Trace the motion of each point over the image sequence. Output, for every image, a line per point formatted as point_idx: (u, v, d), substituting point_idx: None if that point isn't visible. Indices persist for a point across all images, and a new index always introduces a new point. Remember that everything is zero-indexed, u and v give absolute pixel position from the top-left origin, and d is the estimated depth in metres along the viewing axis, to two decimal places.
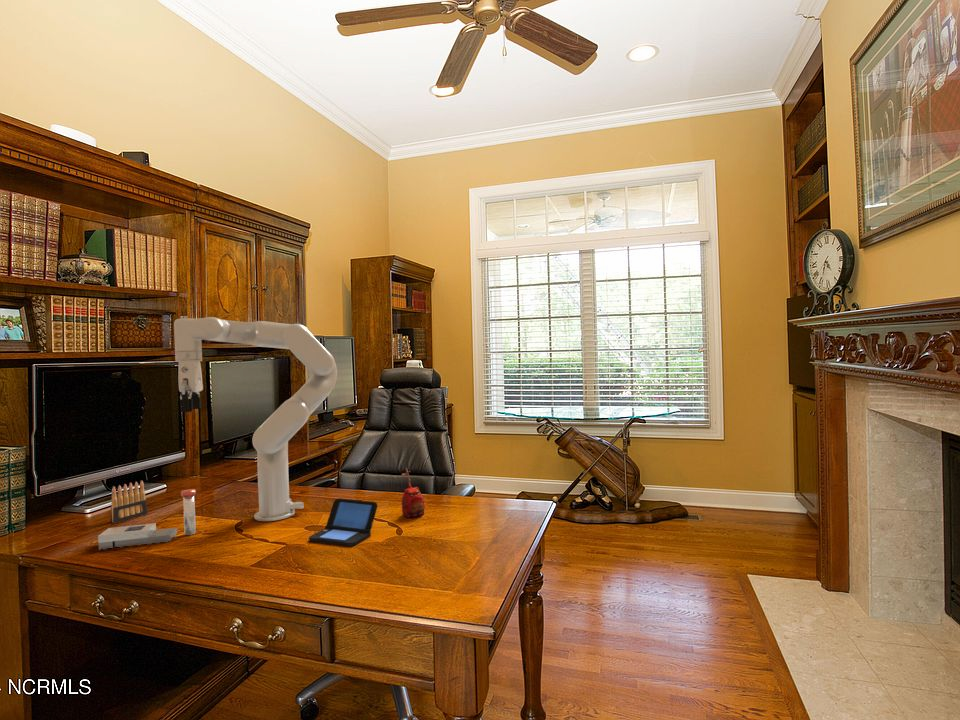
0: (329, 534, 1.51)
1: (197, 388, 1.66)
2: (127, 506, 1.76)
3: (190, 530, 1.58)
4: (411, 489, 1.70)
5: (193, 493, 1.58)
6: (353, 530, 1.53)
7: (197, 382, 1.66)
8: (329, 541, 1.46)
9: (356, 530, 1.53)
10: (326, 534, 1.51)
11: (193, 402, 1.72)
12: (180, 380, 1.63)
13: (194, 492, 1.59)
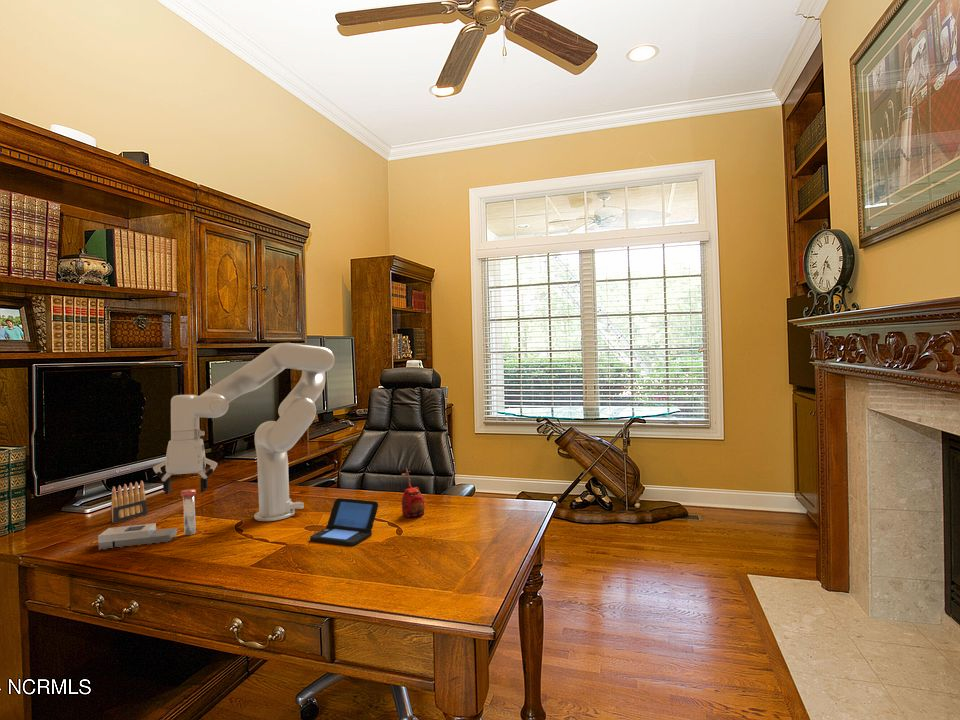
0: (330, 534, 1.51)
1: None
2: (127, 506, 1.76)
3: (190, 530, 1.58)
4: (411, 489, 1.70)
5: (193, 493, 1.58)
6: (354, 529, 1.53)
7: None
8: (330, 540, 1.47)
9: (357, 530, 1.53)
10: (327, 533, 1.51)
11: (169, 486, 1.57)
12: (202, 459, 1.58)
13: (194, 492, 1.59)
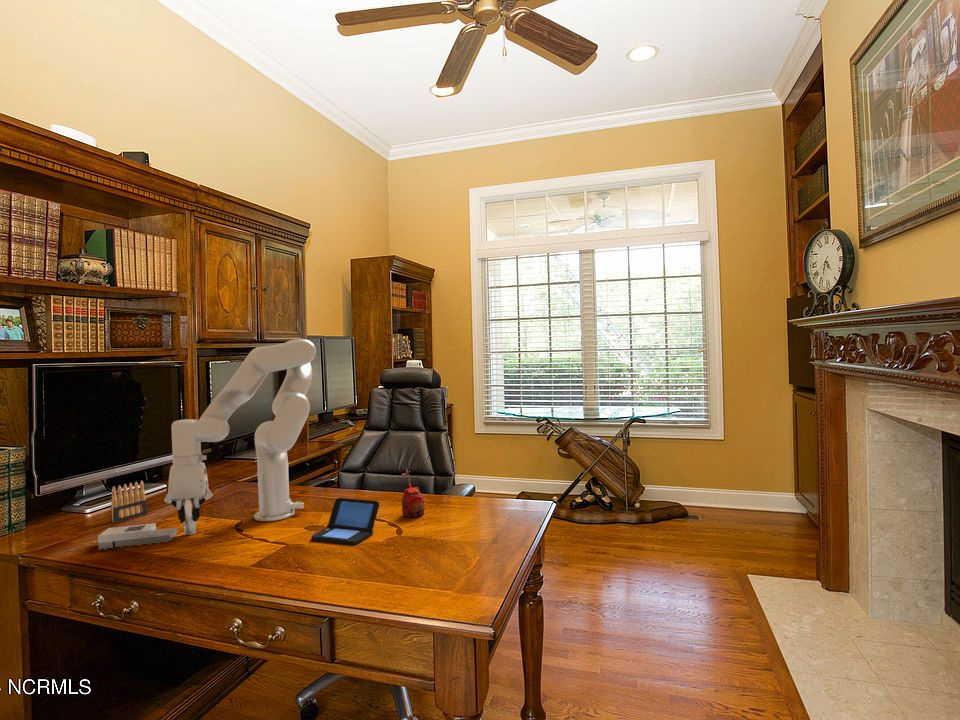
0: (331, 533, 1.51)
1: None
2: (127, 506, 1.76)
3: (190, 530, 1.58)
4: (411, 489, 1.70)
5: None
6: (355, 529, 1.54)
7: None
8: (332, 539, 1.47)
9: (358, 529, 1.54)
10: (328, 533, 1.52)
11: (183, 514, 1.58)
12: (205, 483, 1.59)
13: None
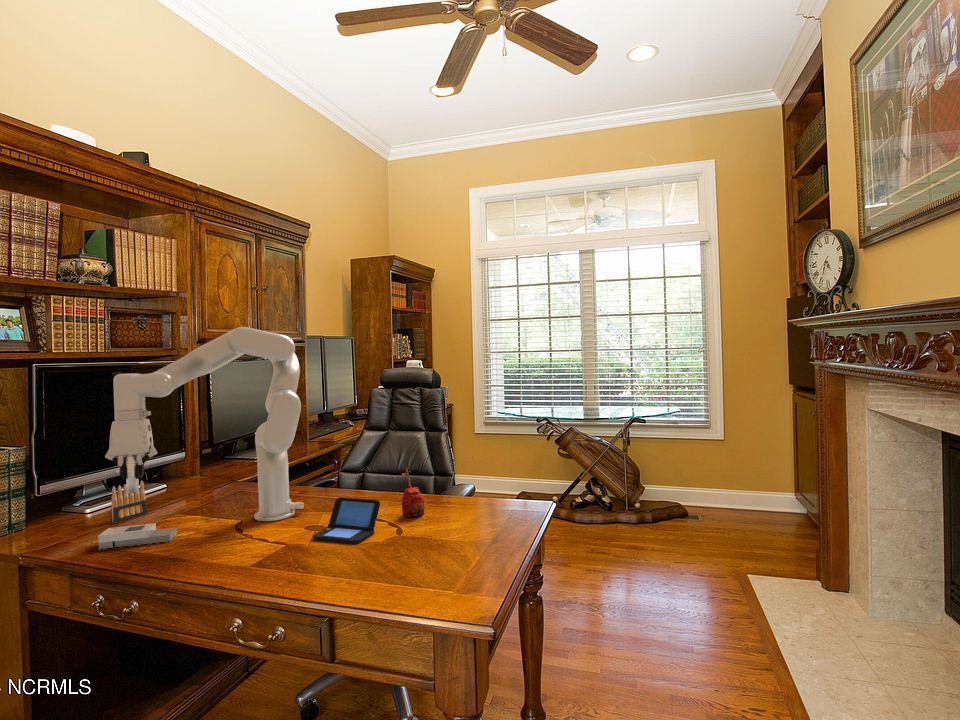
0: (333, 532, 1.52)
1: None
2: (127, 506, 1.76)
3: (132, 487, 1.52)
4: (411, 489, 1.70)
5: None
6: (356, 528, 1.54)
7: None
8: (334, 539, 1.48)
9: (359, 528, 1.54)
10: (330, 532, 1.52)
11: None
12: (148, 440, 1.53)
13: None
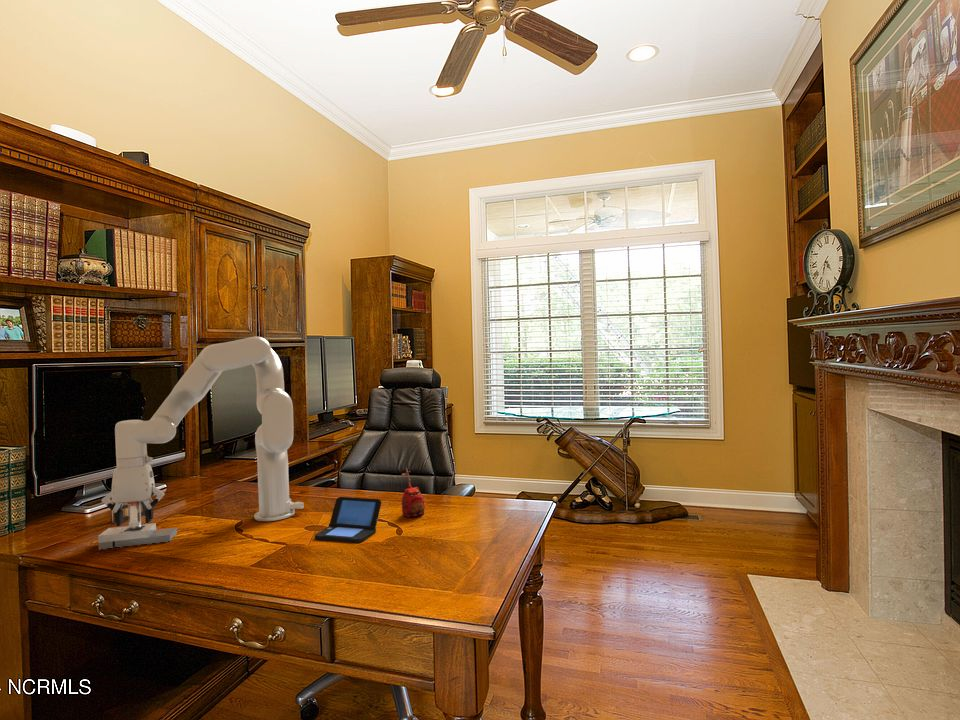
0: (334, 532, 1.53)
1: None
2: (127, 506, 1.76)
3: None
4: (411, 489, 1.70)
5: None
6: (358, 527, 1.55)
7: None
8: (336, 538, 1.48)
9: (361, 527, 1.55)
10: (331, 532, 1.53)
11: (121, 517, 1.52)
12: (150, 486, 1.53)
13: None
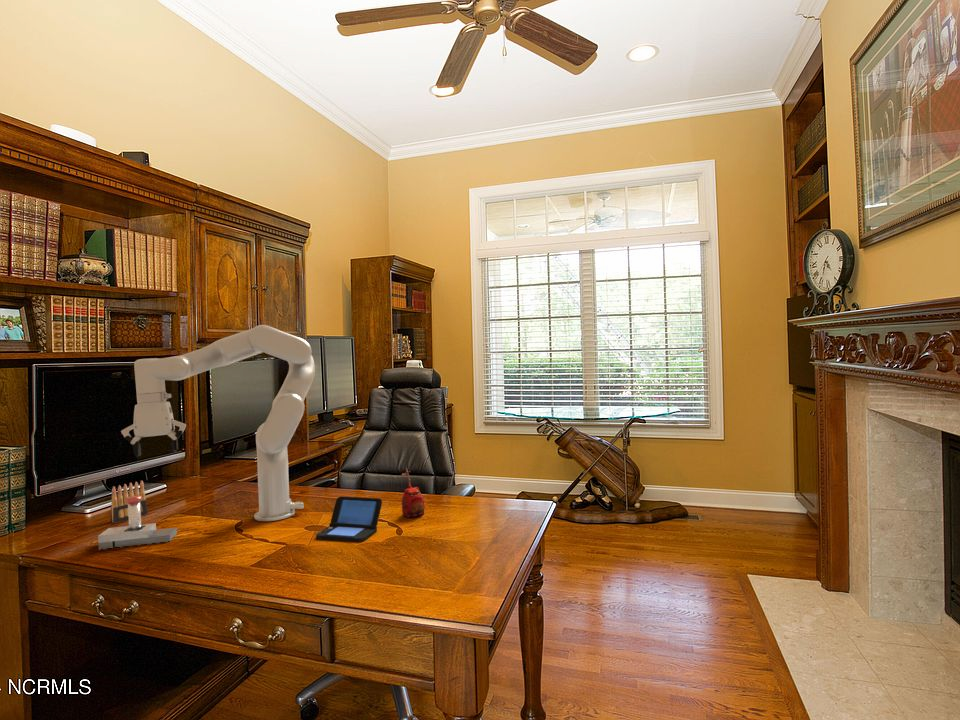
0: (336, 531, 1.53)
1: None
2: (127, 506, 1.76)
3: None
4: (411, 489, 1.70)
5: (138, 500, 1.53)
6: (359, 526, 1.56)
7: None
8: (338, 537, 1.49)
9: (362, 526, 1.56)
10: (333, 531, 1.53)
11: (138, 449, 1.59)
12: (170, 421, 1.60)
13: (140, 499, 1.53)
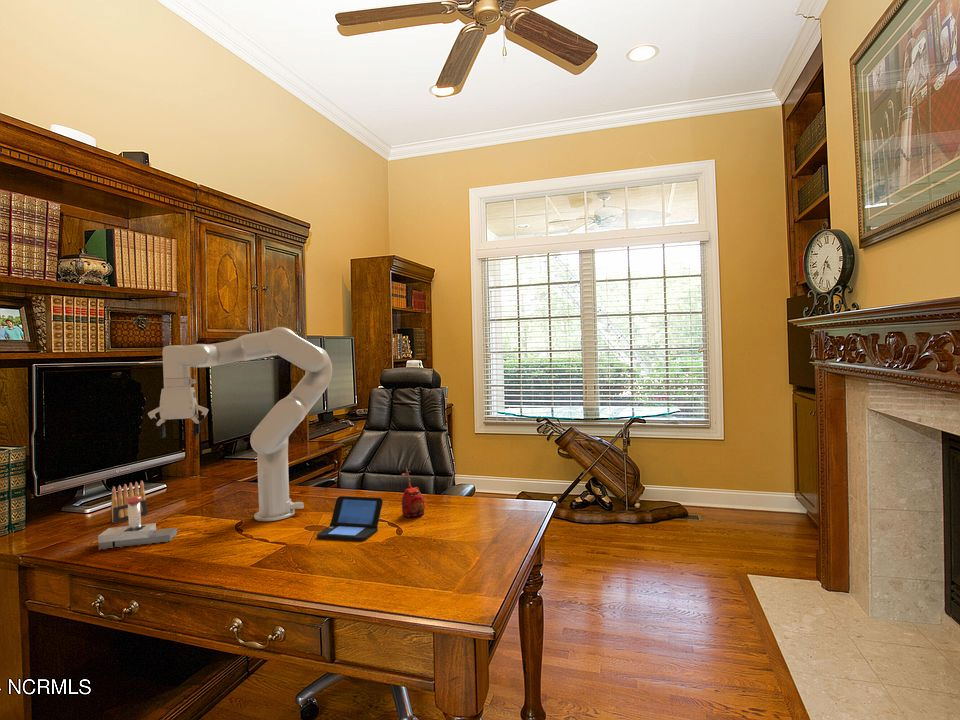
0: (337, 531, 1.53)
1: None
2: (127, 506, 1.76)
3: None
4: (411, 489, 1.70)
5: (138, 500, 1.53)
6: (360, 526, 1.56)
7: None
8: (339, 537, 1.49)
9: (362, 526, 1.56)
10: (334, 531, 1.53)
11: (163, 430, 1.67)
12: (194, 405, 1.69)
13: (139, 499, 1.53)
